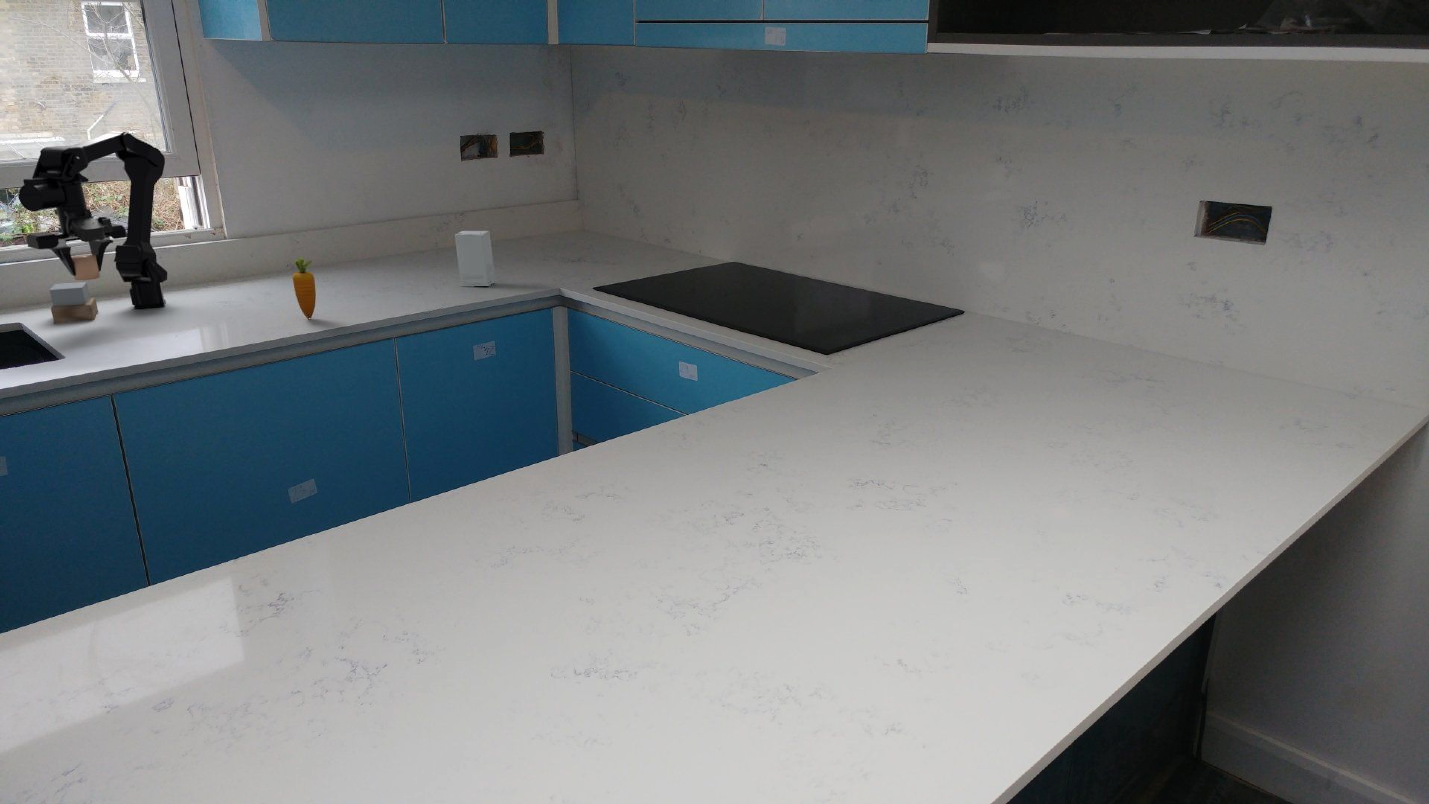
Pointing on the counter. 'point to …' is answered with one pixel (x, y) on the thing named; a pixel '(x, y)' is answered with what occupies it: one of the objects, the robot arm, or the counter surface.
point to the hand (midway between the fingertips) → (86, 273)
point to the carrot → (305, 288)
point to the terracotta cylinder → (85, 267)
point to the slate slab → (69, 294)
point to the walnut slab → (75, 312)
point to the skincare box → (475, 258)
